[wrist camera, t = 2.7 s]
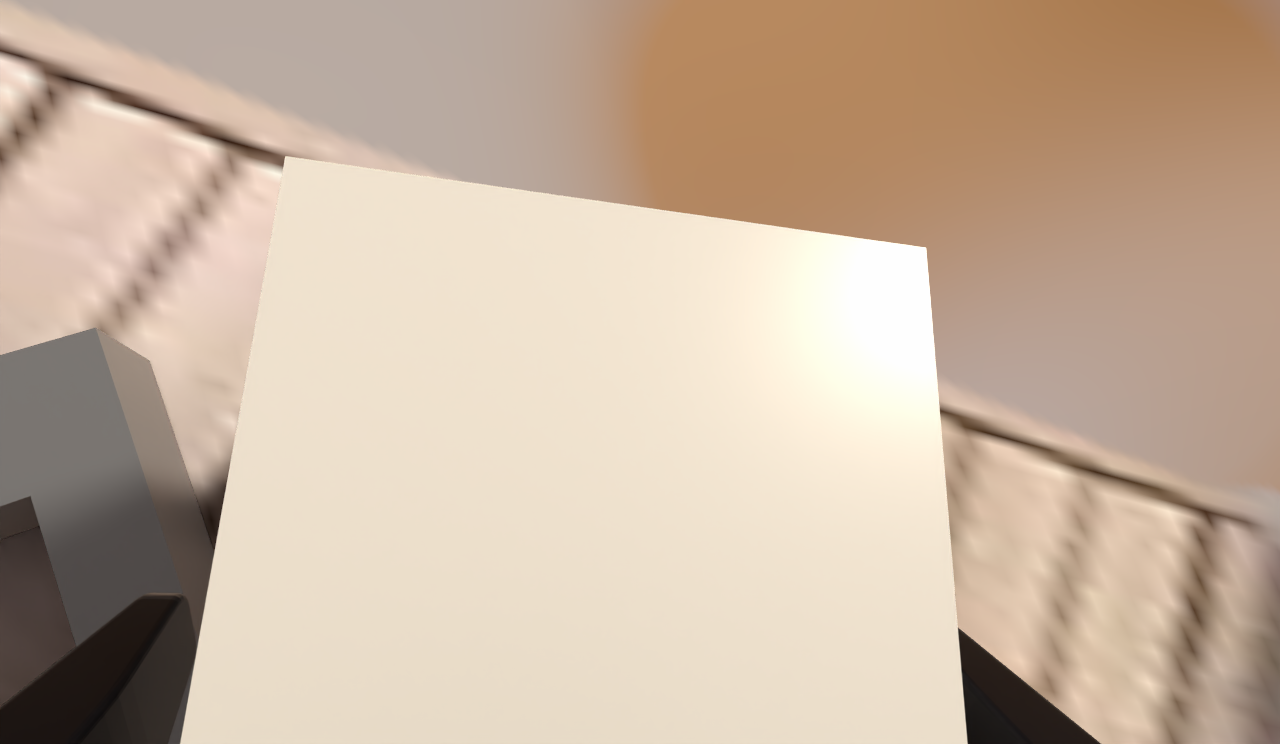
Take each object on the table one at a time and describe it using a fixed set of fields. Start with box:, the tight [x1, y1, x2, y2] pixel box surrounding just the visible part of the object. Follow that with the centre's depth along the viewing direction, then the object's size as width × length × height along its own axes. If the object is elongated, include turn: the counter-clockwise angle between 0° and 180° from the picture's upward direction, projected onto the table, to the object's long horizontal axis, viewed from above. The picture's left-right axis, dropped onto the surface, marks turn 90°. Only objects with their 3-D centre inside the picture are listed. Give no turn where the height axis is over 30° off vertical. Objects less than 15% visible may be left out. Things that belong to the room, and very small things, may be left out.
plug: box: [180, 156, 968, 744], centre depth 12 cm, size 7×7×11 cm
